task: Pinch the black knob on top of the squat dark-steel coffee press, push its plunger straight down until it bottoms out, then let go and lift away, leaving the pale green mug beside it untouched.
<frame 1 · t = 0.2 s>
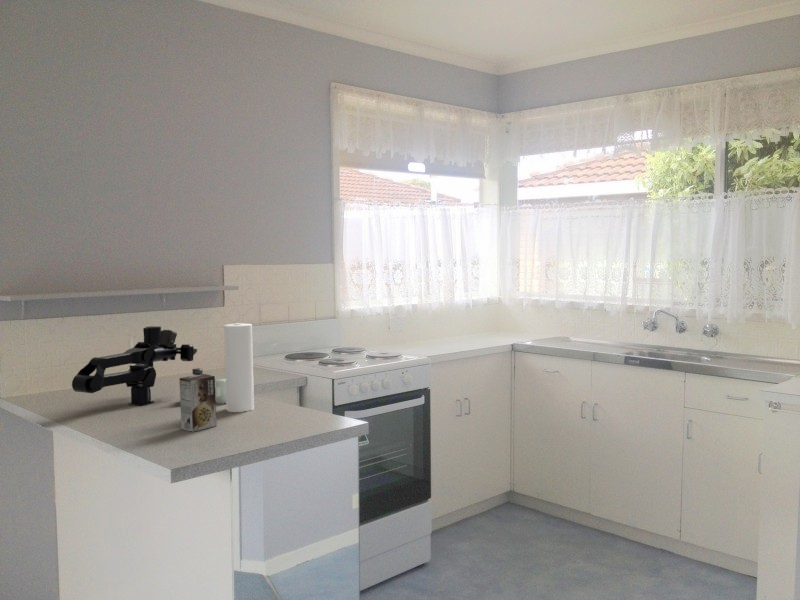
hand: (187, 349, 286), 17 cm above the counter, tool horizontal, fingers open, 9 cm apart
cookie box: (198, 428, 227), on the counter
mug: (225, 401, 266), on the counter
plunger: (197, 378, 267), point 9 cm above the counter, slide at 0.0 cm
cylinder container: (240, 409, 253), on the counter
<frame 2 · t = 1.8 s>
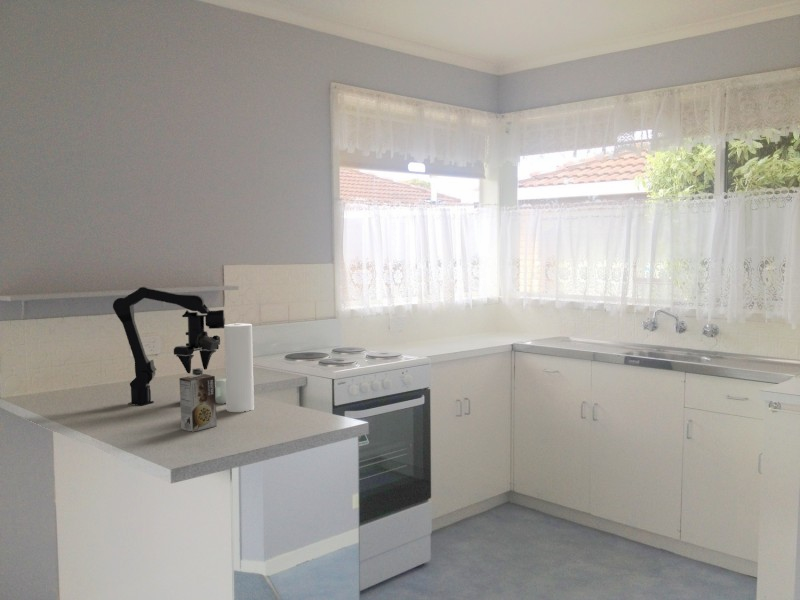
hand: (197, 371, 267), 11 cm above the counter, tool pointing down, fingers open, 9 cm apart
nothing on the counter moved.
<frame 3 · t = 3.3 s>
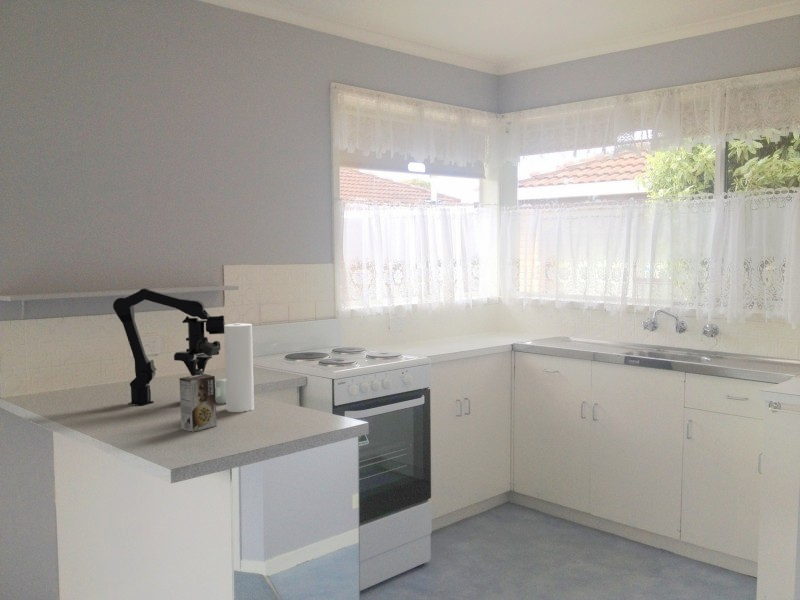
hand: (197, 376, 267), 9 cm above the counter, tool pointing down, fingers closed on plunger, 4 cm apart
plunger: (197, 378, 267), point 9 cm above the counter, slide at 0.0 cm, touching gripper
everything else where it was.
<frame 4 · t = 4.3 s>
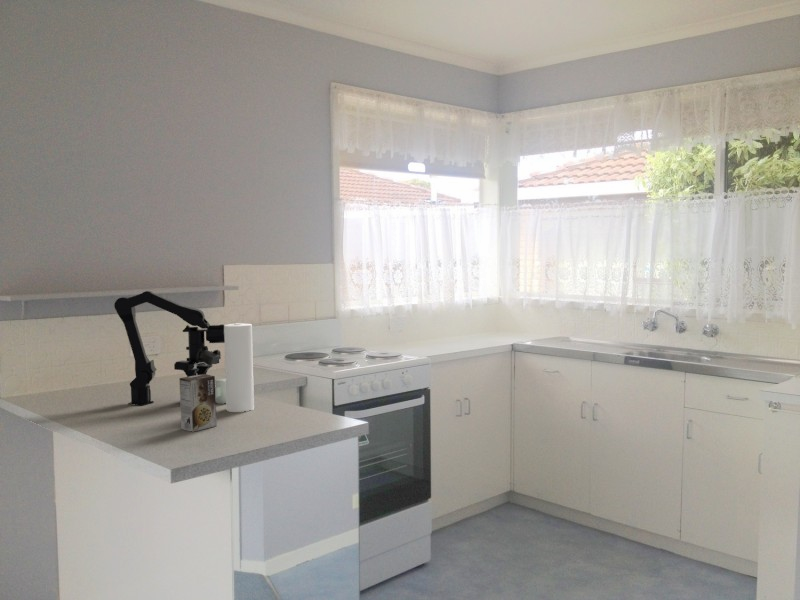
hand: (197, 385, 267), 6 cm above the counter, tool pointing down, fingers closed on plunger, 4 cm apart
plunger: (198, 387, 267), point 5 cm above the counter, slide at 3.3 cm, touching gripper
everything else where it was.
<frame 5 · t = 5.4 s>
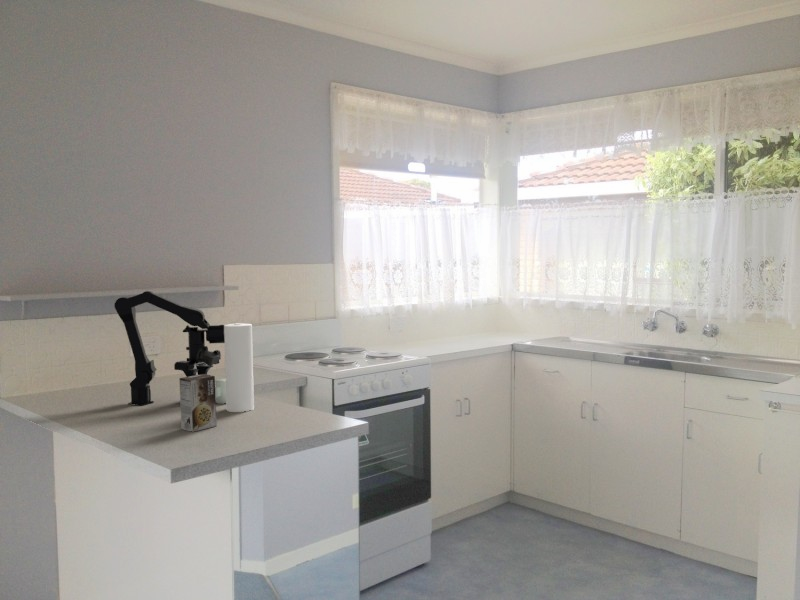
hand: (197, 386, 267), 6 cm above the counter, tool pointing down, fingers open, 4 cm apart
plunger: (198, 387, 267), point 5 cm above the counter, slide at 3.4 cm
everything else where it was.
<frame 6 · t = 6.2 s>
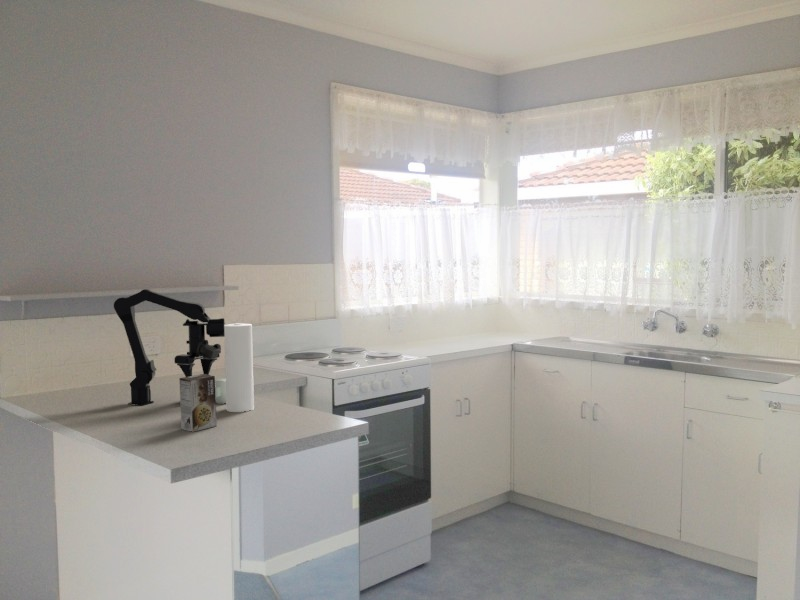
hand: (198, 379, 267), 8 cm above the counter, tool pointing down, fingers open, 9 cm apart
nothing on the counter moved.
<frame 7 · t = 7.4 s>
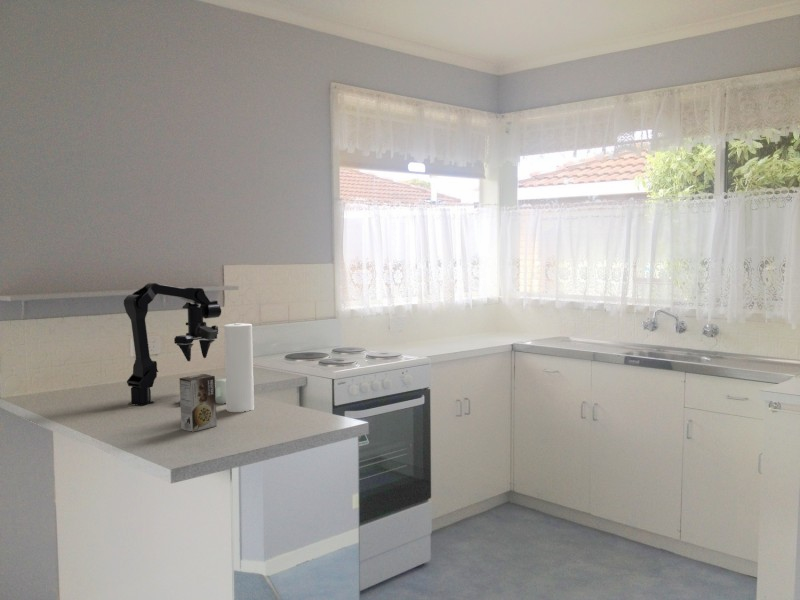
hand: (196, 359, 283), 13 cm above the counter, tool pointing down, fingers open, 9 cm apart
nothing on the counter moved.
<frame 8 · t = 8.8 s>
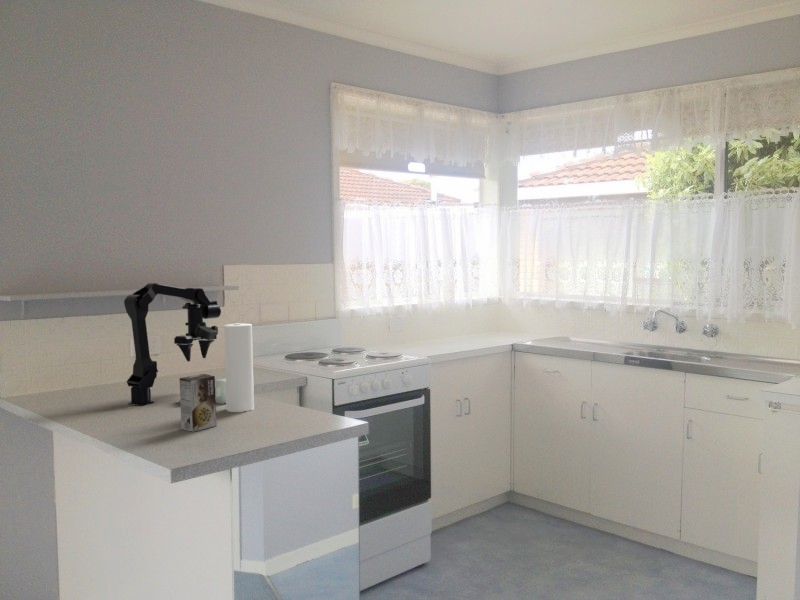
hand: (196, 359, 283), 13 cm above the counter, tool pointing down, fingers open, 9 cm apart
nothing on the counter moved.
at the end: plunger slide at 3.4 cm; the gripper is holding nothing; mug moved 0.1 cm from its start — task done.
